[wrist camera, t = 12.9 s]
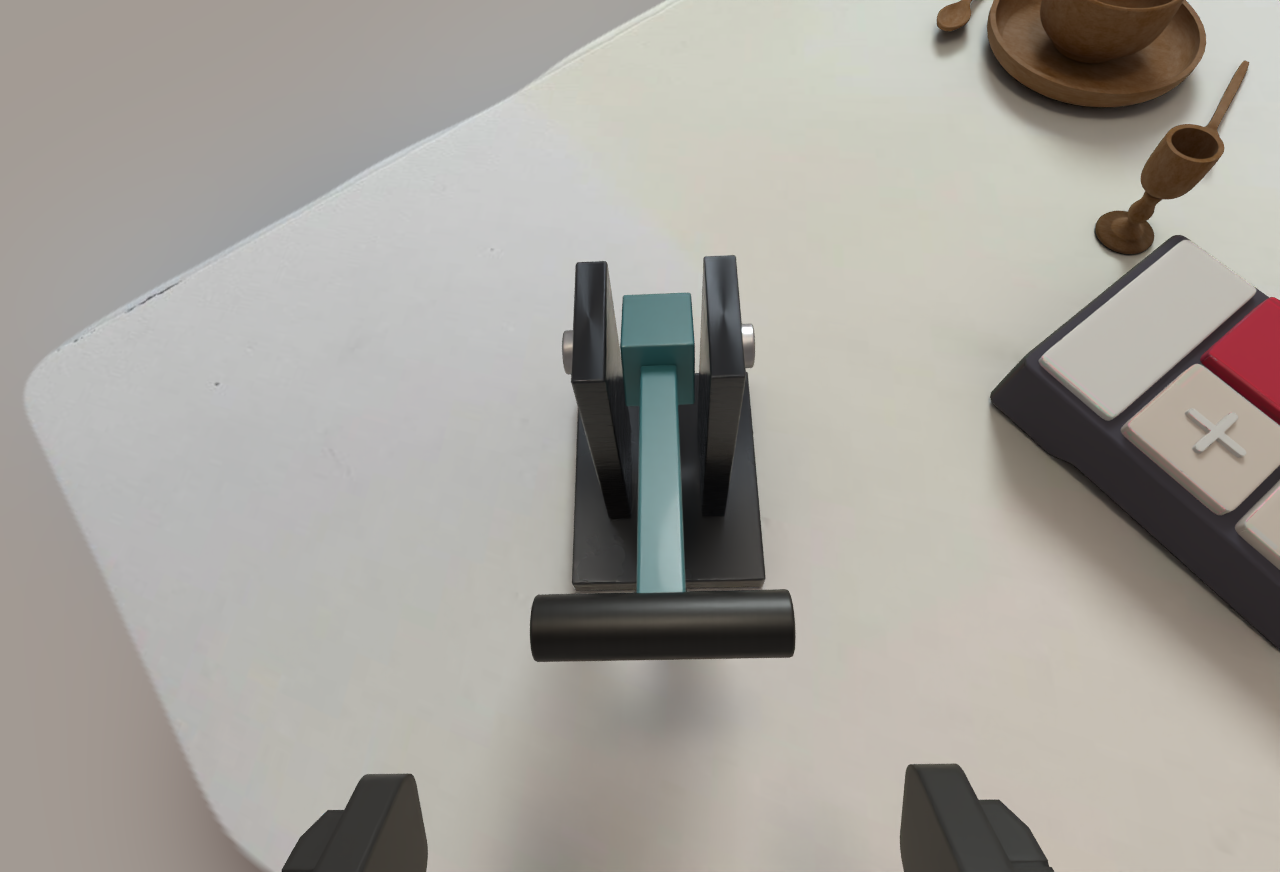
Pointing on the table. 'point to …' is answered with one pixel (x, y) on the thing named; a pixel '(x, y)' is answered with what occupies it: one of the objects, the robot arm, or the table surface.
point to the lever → (661, 531)
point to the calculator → (1173, 415)
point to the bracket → (709, 443)
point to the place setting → (1112, 81)
